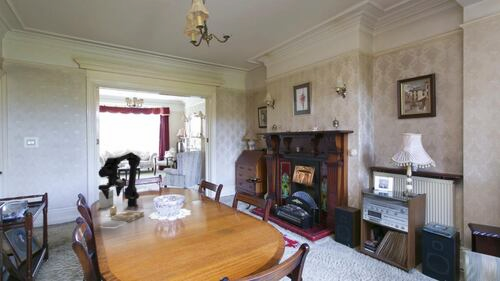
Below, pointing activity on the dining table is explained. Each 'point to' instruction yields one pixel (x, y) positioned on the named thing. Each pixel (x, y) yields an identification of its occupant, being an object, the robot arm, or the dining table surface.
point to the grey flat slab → (112, 215)
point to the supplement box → (103, 201)
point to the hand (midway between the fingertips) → (112, 197)
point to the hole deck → (131, 217)
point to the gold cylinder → (113, 210)
